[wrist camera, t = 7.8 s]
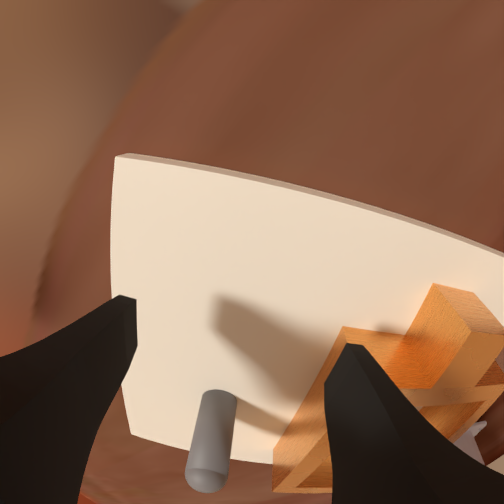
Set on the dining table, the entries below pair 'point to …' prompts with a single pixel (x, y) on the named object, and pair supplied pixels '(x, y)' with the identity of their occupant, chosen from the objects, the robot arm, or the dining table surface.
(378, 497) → the robot arm
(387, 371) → the wooden link
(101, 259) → the dining table surface
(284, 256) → the board
